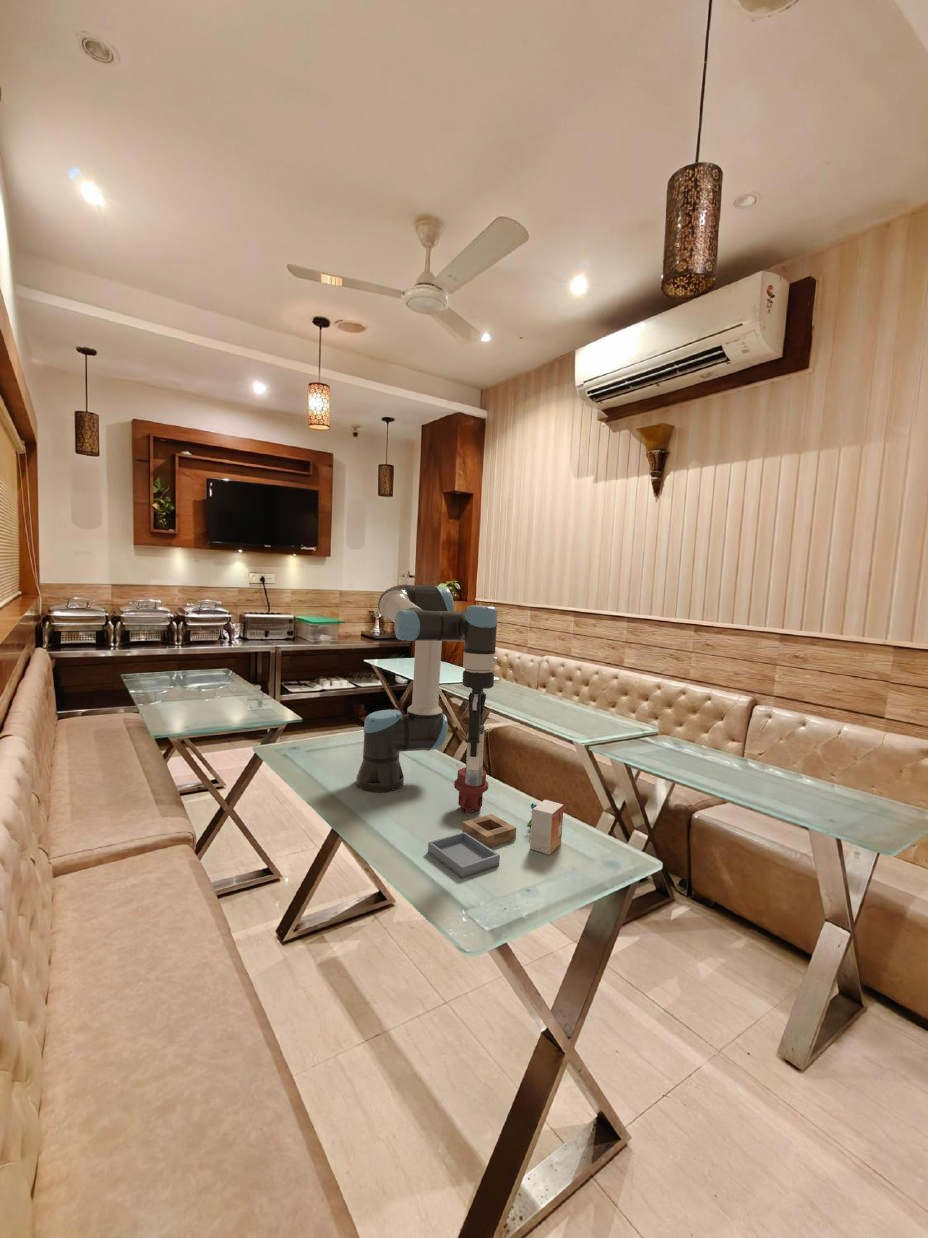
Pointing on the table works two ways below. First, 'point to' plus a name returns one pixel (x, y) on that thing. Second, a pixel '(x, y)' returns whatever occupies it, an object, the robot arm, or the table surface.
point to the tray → (463, 854)
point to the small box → (546, 826)
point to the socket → (497, 827)
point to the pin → (476, 775)
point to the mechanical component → (470, 792)
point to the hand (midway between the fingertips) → (473, 766)
